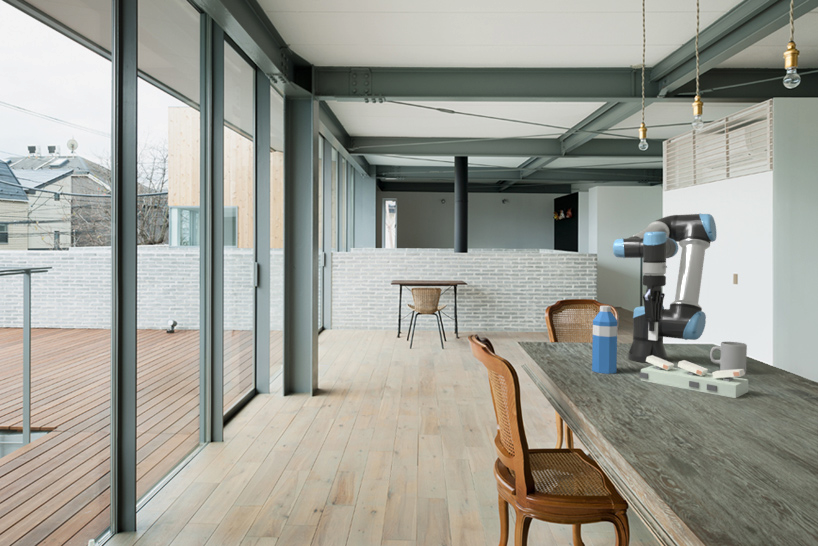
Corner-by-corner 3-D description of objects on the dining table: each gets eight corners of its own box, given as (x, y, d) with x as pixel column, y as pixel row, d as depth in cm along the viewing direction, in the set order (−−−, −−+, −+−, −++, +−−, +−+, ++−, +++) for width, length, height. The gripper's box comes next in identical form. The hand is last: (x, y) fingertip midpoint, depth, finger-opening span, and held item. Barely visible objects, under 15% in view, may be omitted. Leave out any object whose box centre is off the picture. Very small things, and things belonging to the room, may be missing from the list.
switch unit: (639, 380, 185) (639, 367, 185) (655, 375, 193) (655, 362, 193) (735, 398, 162) (735, 383, 162) (748, 391, 170) (748, 377, 170)
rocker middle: (677, 366, 179) (678, 361, 178) (682, 364, 182) (684, 359, 181) (701, 376, 173) (702, 371, 173) (706, 374, 176) (708, 369, 176)
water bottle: (621, 373, 195) (622, 307, 194) (596, 373, 195) (597, 307, 194) (612, 368, 204) (613, 305, 203) (588, 368, 204) (589, 305, 204)
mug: (744, 370, 201) (745, 342, 200) (747, 375, 193) (748, 346, 193) (708, 367, 206) (709, 340, 206) (710, 372, 199) (711, 343, 198)
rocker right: (713, 378, 170) (712, 372, 171) (718, 376, 173) (717, 370, 173) (740, 376, 164) (738, 370, 165) (745, 374, 167) (743, 368, 168)
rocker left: (645, 361, 187) (646, 356, 187) (651, 359, 190) (652, 355, 190) (667, 370, 181) (668, 365, 181) (672, 368, 184) (674, 363, 184)
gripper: (657, 275, 179) (655, 343, 180) (672, 274, 188) (671, 339, 189) (635, 274, 185) (634, 340, 186) (651, 273, 194) (650, 336, 194)
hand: (652, 339), depth 187 cm, fingers closed
